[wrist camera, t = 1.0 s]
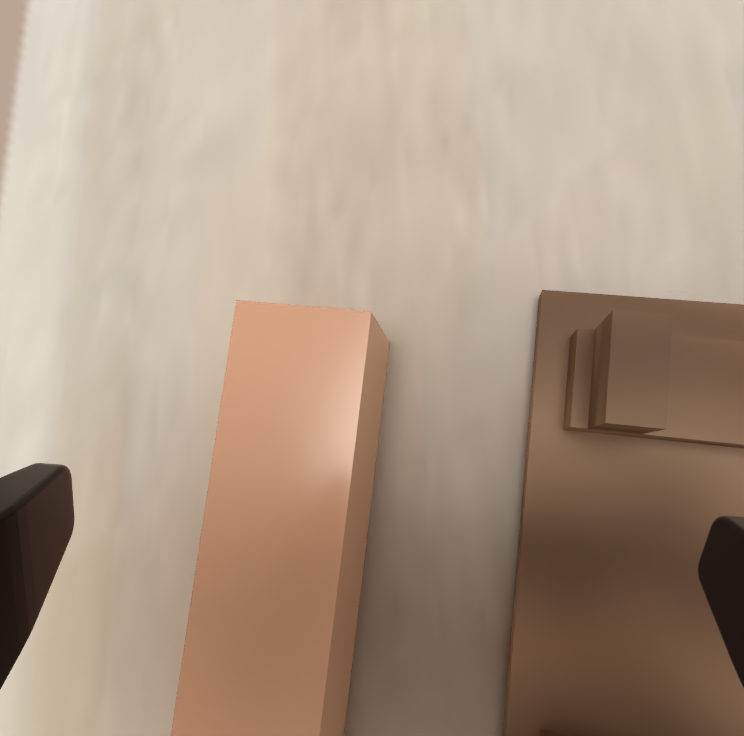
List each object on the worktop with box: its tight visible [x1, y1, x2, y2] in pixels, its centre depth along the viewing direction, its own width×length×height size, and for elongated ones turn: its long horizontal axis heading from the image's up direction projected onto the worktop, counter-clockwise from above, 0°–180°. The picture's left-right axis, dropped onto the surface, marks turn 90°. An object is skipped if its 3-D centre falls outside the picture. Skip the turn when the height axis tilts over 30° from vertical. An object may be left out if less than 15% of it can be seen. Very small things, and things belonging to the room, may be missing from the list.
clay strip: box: [171, 300, 390, 736], centre depth 20 cm, size 16×4×5 cm, turn 173°
